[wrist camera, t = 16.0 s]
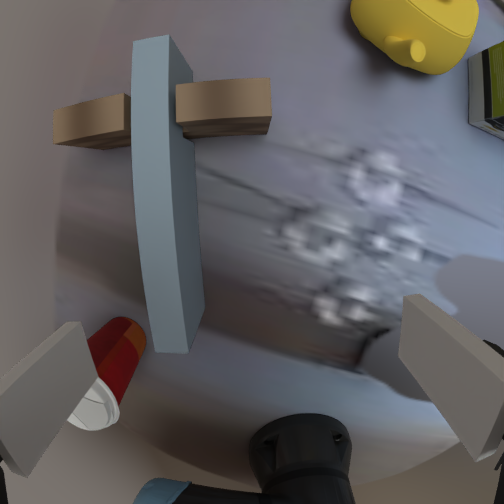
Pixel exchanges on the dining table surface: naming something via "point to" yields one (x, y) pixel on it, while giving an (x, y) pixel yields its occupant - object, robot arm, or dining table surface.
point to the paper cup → (110, 372)
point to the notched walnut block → (187, 114)
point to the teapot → (418, 30)
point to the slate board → (165, 196)
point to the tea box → (487, 90)
